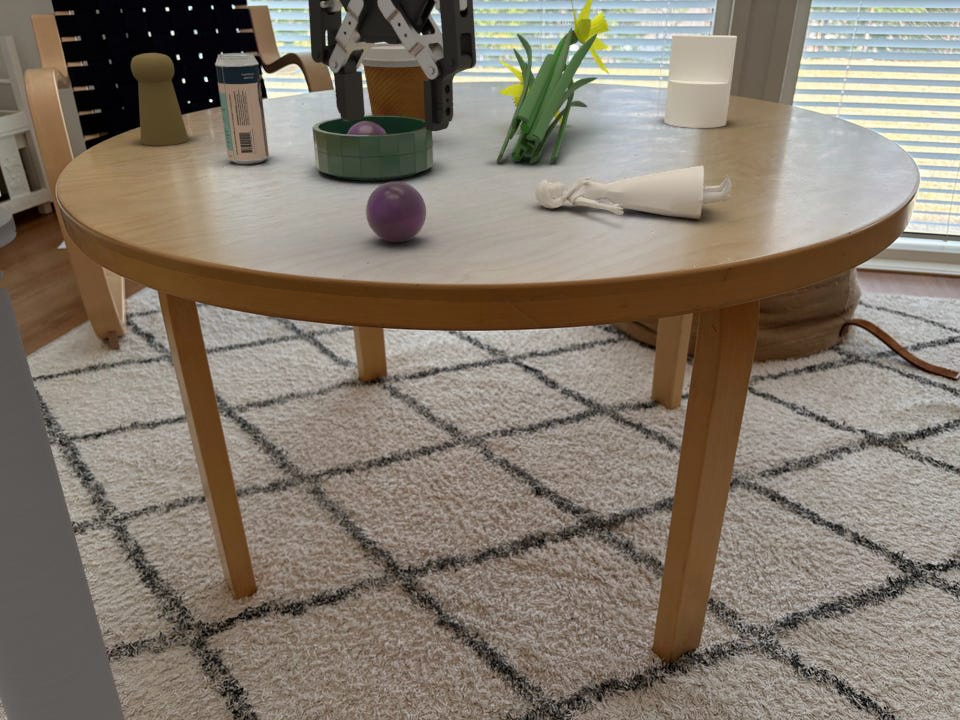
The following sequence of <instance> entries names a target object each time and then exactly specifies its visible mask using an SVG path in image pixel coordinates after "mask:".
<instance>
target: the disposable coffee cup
mask: <svg viewBox="0 0 960 720" xmlns="http://www.w3.org/2000/svg"><path fill="white" fill-rule="evenodd" d="M361 65H362V66H363V70H364V71H363V72H364V77H365V82H366V83H365V84H366V88H367V94H368V101H369V105H370V112H371V115H390V116H406V117H415V118H420V119H424V120H425V110H424V85H423V81H424V80H428V77H427V76H426V75H425V73H424V71H423V70H422V68H421V66H420V65H419V63H418V61H417V60H416V58H415V57H414V56H413V55H411V54H409V53H408V52H407V50H406V49H405V47H404V45H403V44H388V43H386V42H382V43H375V44H374V45H373V47H371V48H370V49H369V50H368V51H367V52H366V54H365V56H364V58H363V61H362V63H361Z"/></svg>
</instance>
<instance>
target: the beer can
mask: <svg viewBox="0 0 960 720" xmlns="http://www.w3.org/2000/svg"><path fill="white" fill-rule="evenodd" d="M214 65H215V71H216V78H217V86H218V87H217V88H218V94H219V102H220V109H221V116H222V122H223V124H222V125H223V130H224V138H225V139H224V140H225V145H226V153H227V159H228V160H229V161H231V162H233V163H234V164H237V165H255V164H260V163H263V162H265V160H266V159H268V158H269V156H270V154H269V153H270V152H269V147H268V137H267V136H268V135H267V128H266V118H265V110H264V101H263V94H262V92H263V91H262V84H261V76H260V75H261V74H260V66H259V61H258V60H257V59H256V57H255V55H254V53H252V52H251V53H249V52H231V53H230V52H228V53H220V54H219V53H218V54H217V57H216V61H215V63H214Z"/></svg>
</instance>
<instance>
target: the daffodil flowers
mask: <svg viewBox="0 0 960 720" xmlns="http://www.w3.org/2000/svg"><path fill="white" fill-rule="evenodd" d="M593 1H594V0H587V1H586V2H585V4H584V5H583V7H582V9H581V11H580V12H579V15H578V17H577V13H576V10H575V8H574V3H573V0H570V2H571V8H572V12H573V21H574V24H573V26H574V29H573V26H571V27H570V29H569V30H568V31H567V33H566V34H565V35H564V36H563V37H562V38H561V40H560V41H559V42H558V44H557V45H556V47H555V49H554V51H553V53H547V54H546V56H545V58H544V60H543V61H542V64H541V65H540V67H539V70H538V72H537V74H536V75H535V76H534V74H533V71H532V65H533V51H532V47H531V45H530V43H529V41H528V40H527V39H526V38H525V37H524V36H522V35H521V34H520V33H516V35H517V38H518V40H519V41H520V43H521V45H522V47H523V49H524V50H525V53H526V56H527V62H526V61H525V60H524V59H523V57H522V56H521V54H520V53H519V51H518V50H516V49H515V47H514V48H513V50H512V51H513V53H514V55H515V58H516V60H517V62H518V66H519V68H520V70H521V71H520V70H519V69H517V68H516V67H514V66H512V65H510V64H509V63H506V62H505V61H503V60H501V59H499V58H497V61H498V62H499V63H500V64H501V65H503V66H505V67H506V68H507V69H508V70H509V71H510V72H511V73H512V74H513V75H514V76H515V77H516V79H518V81H520V82H519V83H518V82H517V83H515V84H512V85H509V86H506V87H505V88H503V89H501V90H498V94H500V95H502V96H511V97H512V100H513V104H514V107H516V108H515V111H514V113H513V116H512V119H511V122H510V125H509V127H508V128H509V129H508V131H507V133H506V137H505V138H504V142H503V144H502V146H501V149H500V151H499V154H498V156H497V158H496V163H497V164H499V163H501V161H502V159H503V157H504V155H505V152H506V150H507V147H508V145H509V142H510V141H511V140H513V138H514V136H515V134H516V132H517V131H518V128H520V134H519V136H518V139H517V141H516V143H515V145H514V147H513V150H512V152H511V154H510V156H511V158H512V161H515V162H516V163H517V162H518V163H519V162H521V160H522V158H523V156H524V157H526V158H531V159H530V161H529V164H530V165H532V164H534V163H536V162H537V161H538V160H539V158H540V156H541V154H542V152H543V149H544V147H545V145H546V143H547V141H548V139H549V137H550V136H551V134H552V132H553V130H554V129H555V127H556V126H557V124H558V123H559V124H560V126H559V130H558V134H557V137H556V142H555V145H554V148H553V151H552V154H551V157H550V161H549V164H550V165H552V164H553V163H555V161H557V158H558V155H559V152H560V149H561V145H562V143H563V142H562V141H563V139H564V135H565V132H566V128H567V127H566V126H567V122H568V119H569V116H570V112H571V108H572V107H573V108H574V107H577V108H588V105H587V104H586V103H585V102H583V101H581V100H574V96H575V91H577V90H579V89H580V88H581V87H583V86H585V85H587V84H589V83H592V82H594V81H595V80H597V79H598V77H593V76H592V77H583V78H580V79H578V80H576V81H575V82H574V79H573V78H574V76H575V75H576V73H577V72H578V69H579V67H580V66H581V64H582V62H583V61H584V59H585V57H586V56H587V54H588V52H589V53H590V55H591V56H592V59H593V60H594V62H595V64H596V65H597V67H599V68H600V69H601V70H602V71H604V72H605V73H607V74H608V75H610V76H611V74H610V72H609V70H608V69H607V67H606V65H605V64H604V62H603V61H602V59H601V57H600V56H599V54H598V52H597V51H602V50H605V49H607V48H608V46H607V44H605V43H604V42H603V41H602V40H601V39H600V38H598V37H597V36H598V35H599V34H601V33H607V32H610V31H611V29H610V26H609V23H608V21H607V19H606V16H605V15H604V11H600V12H599V13H598V14H597V15H596V16H595V17H593V18H592V19H591V18H590V15H591V14H590V13H591V8H592V5H593ZM578 42H579V43H580V44H581V46H580V47H579V48H578V50H576V52H575V53H574V54H573V56H571V59H570V60H569V62H568V64H567V60H568V57H569V52H570V47H571V46H572V45H575V44H577V43H578ZM565 102H566V104H565ZM564 104H565V106H564V108H563V109H562V110H560V109H561V108H562V106H563V105H564ZM553 119H554V120H553Z"/></svg>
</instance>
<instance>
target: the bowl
mask: <svg viewBox="0 0 960 720" xmlns="http://www.w3.org/2000/svg"><path fill="white" fill-rule="evenodd" d="M362 121H371V122H374V123H376V124H378V125H380V126H381V127H382V128H383V129H384V130H385V131H386V133H387V134H383V135H348V134H347V132H348V131H349V129H350V128H351V127H352V126H353V125H355V124H356V123H359V122H362ZM312 139H313V148H314V159H315V160H314V161H315V167H316V169H317V170H318V171H319V172H320V173H321V172H322V173H325V174H328V175H330V176H332V177H335V178H338V179H342V180H350V181H360V182H361V181H362V182H363V181H364V182H365V181H366V182H367V181H368V182H369V181H370V182H373V181H374V182H375V181H377V182H378V181H392V180H398V179H404V178H405V179H406V178H408V177H412V176H415V175H417V174H419V173H422V172H423V171H427V170H428V169H430V168H431V167H433V165H434V149H433V148H434V143H433V142H434V141H433V131H428V130H427V129H426V127H425V120H424V119H420V118H415V117H406V116H390V115H372V114H369V115H364V118H363V119H361V120H356V121H352V122H349V121H343V120H342V119H341V117H335V118H331V119H326V120H325V119H324V120H322V121H319V122H316V123H315V124H314V125H313V126H312Z"/></svg>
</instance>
